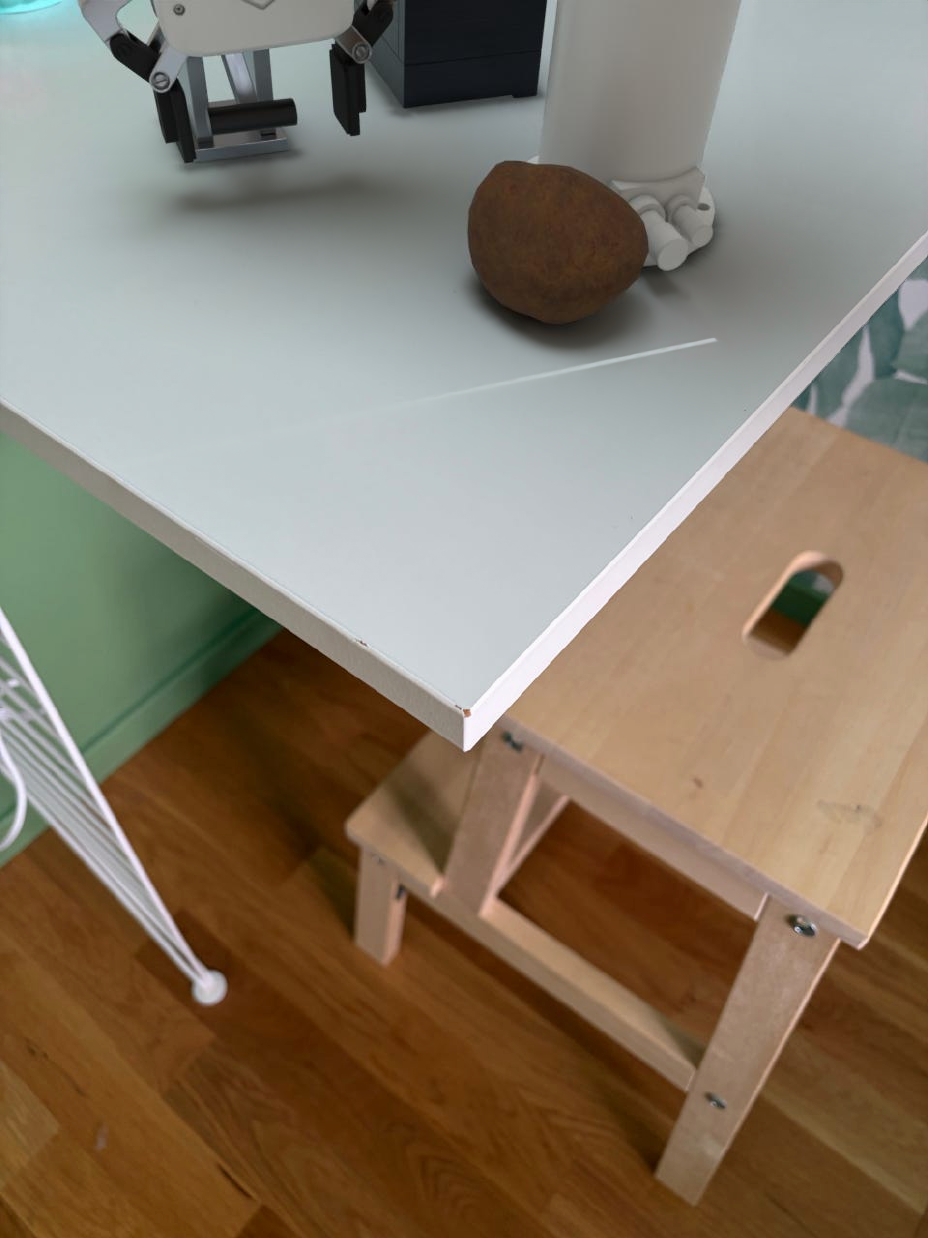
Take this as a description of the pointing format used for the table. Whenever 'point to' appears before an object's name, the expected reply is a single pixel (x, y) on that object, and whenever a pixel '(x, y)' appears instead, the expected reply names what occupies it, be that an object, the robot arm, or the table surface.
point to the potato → (553, 241)
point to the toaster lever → (247, 104)
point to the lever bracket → (198, 102)
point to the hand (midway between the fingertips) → (267, 138)
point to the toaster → (460, 50)
